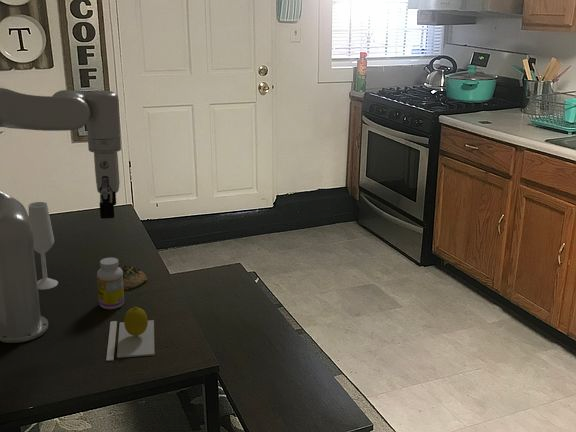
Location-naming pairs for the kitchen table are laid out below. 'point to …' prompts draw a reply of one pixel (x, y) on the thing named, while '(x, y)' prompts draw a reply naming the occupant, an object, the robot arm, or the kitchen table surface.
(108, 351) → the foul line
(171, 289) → the kitchen table surface
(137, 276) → the bread roll
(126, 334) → the mat
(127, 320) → the lemon
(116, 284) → the supplement bottle
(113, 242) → the kitchen table surface
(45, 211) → the champagne flute
